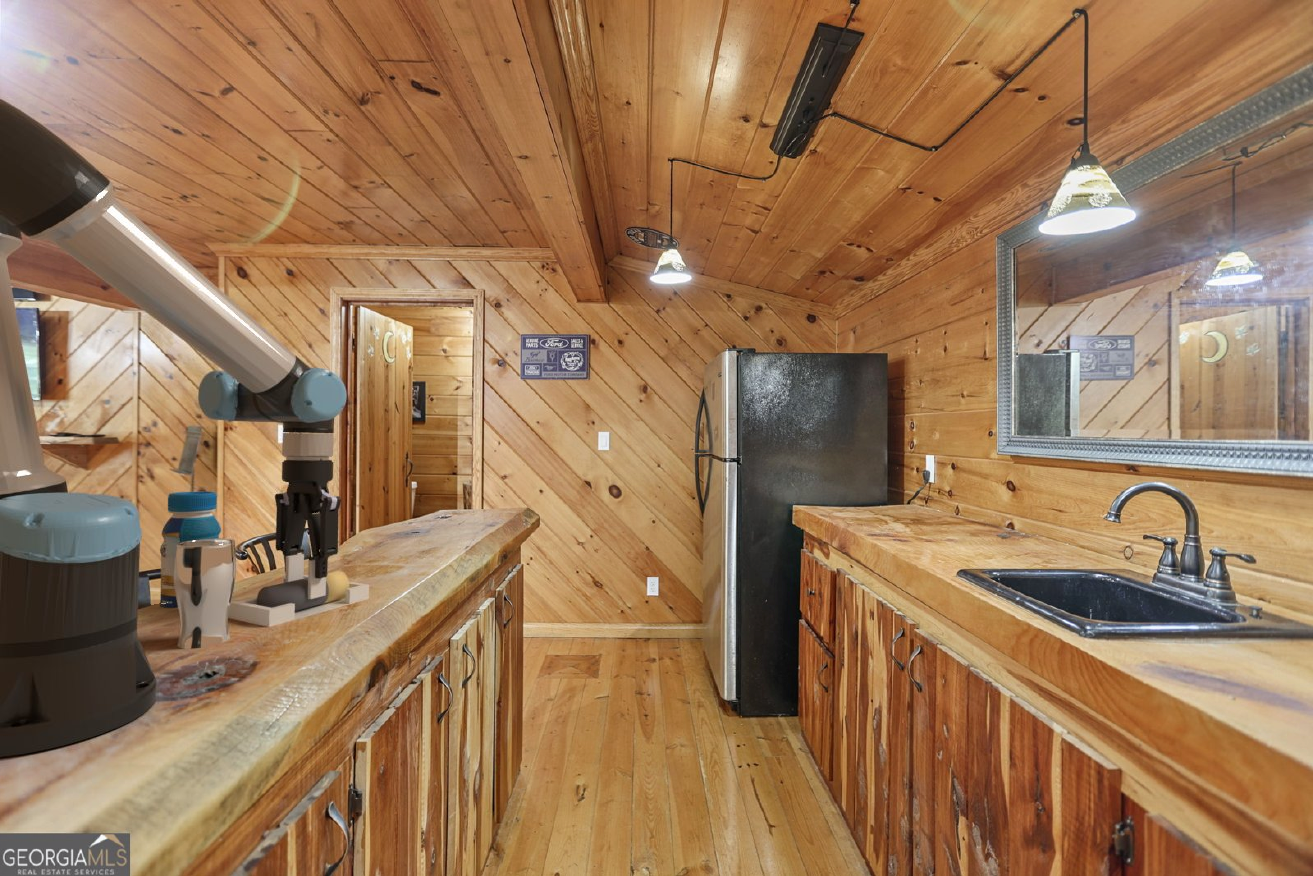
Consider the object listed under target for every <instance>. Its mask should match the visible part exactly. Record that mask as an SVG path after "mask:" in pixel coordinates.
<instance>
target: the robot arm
mask: <svg viewBox="0 0 1313 876" xmlns="http://www.w3.org/2000/svg"><path fill="white" fill-rule="evenodd" d="M22 234H24V235H25V236H26V237H27V238H29V239H30V240H36V241H37V240H38V241H47V242H51V243H53V244H54V245H56V246H57V247H58V248H60V249H61V250H62V251H63V252H64V253H66V254H68V256H70V257H72V258H73V259H74V260H75V261H77V262H78V263H80V264H81V266H82V265H83V267H85V268H86V269H88V270H89V271H90V272H92V273H93V274H94V275H96V276H97V277H98V278H99V279H101V280H102V281H104V283H107V284H108V286H110V287H111V288H112V289H114V290H115V291H117V292H118V293H119V294H121V295H122V296H123V297H125V298H126V299H127V300H129V301H130V302H132V303H133V304H134V305H136V306H137V307H138V308H139V309H141V310H142V311H143V312H145V313H147V314H148V315H149V316H150V317H152V318H153V319H154V320H156V321H157V322H159V324H161V325H163V326H164V327H165V328H167V330H169V331H170V332H172V333H173V334H174V335H176V336H177V337H178V338H180V339H181V340H183V342H185V343H186V344H188V345H189V346H191V347H192V348H193V349H194V350H196V351H197V352H198V353H200V354H201V355H202V356H204V357H205V358H206V359H208V360H209V361H211V363H213V364H214V365H216V366H217V367H218V368H219V369H221V370H219V369H218V370H212V371H209V372H208V373H206V374H205V375H204V376H203V378H202V379H201V381H200V383H199V386H198V391H197V392H198V396H197V397H198V405H199V408H200V410H201V412H202V413H203V415H205V417H207V418H209V419H211V420H214V421H226V422H228V423H231V422H232V423H233V422H245V423H246V422H247V423H248V422H252V423H281V424H282V446H281V455H282V456H283V457H284V458H286V459H284V460H283V461H282V462H281V480H282V481H283V482H285V483H288V484H287V489H286V491H285V492H283V493H282V492H281V493H280V492H279V493H276V494H274V501H275V505H276V520H275V521H276V523H275V550H276V551H279V552H282V555H283V556H284V572H285V573H284V574H285V577H284V579H285V582H290V581H295V580H299V579H303V576H304V573H305V572H304V568H305V563H304V562H305V553H304V552H305V550H304V549H303V548H302V546H303V541H304V540H303V539H304V535H305V531H306V524H307V530H308V536H309V544H310V550H311V556H310V557H307V558H308V561H307V562H308V565H307V570H308V571H307V575H308V599H313V598H317V597H321V596H325V595H326V577H327V573H328V565H329V564H328V563H329V562H328V561H329V557H331V556H334V555H338V553H339V510H340V507H341V503H342V498H341V496H339V495H338V496H333V495H332V494H330V490H329V488H328V483H329V482H331V481H332V480H333V479H334V461H333V460H332V459H330V457H333V455H334V434H335V432H334V431H335V418H336V417H337V416H339V415H340V414H341V412H342V411H343V409H344V408H345V406H346V403H347V395H348V394H347V389H346V386H345V384H344V382H343V380H342V379H341V377H340V376H339V375H337V373H334V372H333V371H331V370H329V369H326V368H320V367H310V366H309V365H308V364H306V363H305V362H304V361H303V360H302V359H301V358H299V357H298V356H297V355H296V354H295V353H294V352H292V351H291V350H290V349H289V348H288V347H286V346H285V345H284V344H283V342H281V341H280V340H278V339H277V338H276V337H275V336H274V335H273V334H271V333H270V332H269V330H267V329H266V328H265V327H263V326H262V324H260V323H259V322H258V321H257V320H256V319H255V318H253V317H252V316H251V315H250V314H248V313H247V312H246V311H245V310H244V309H243V308H242V307H241V306H239V305H238V304H237V303H236V302H235V301H234V300H232V299H231V298H230V297H229V296H228V295H227V294H226V293H224V291H222V290H221V289H220V288H219V287H218V286H216V285H215V284H214V283H213V281H211V280H209V278H207V276H205V275H204V274H203V273H202V272H200V271H199V270H198V269H197V268H196V267H195V266H193V265H192V263H190V261H187V260H186V259H185V258H184V257H183V256H182V255H181V254H180V253H179V252H177V251H176V250H175V248H173V247H172V246H170V244H168V243H167V242H166V241H164V239H162V238H161V237H160V236H159V235H158V234H157V233H155V232H154V230H152V229H151V228H149V226H148V225H146V224H145V223H144V222H143V221H142V220H141V219H139V218H138V216H136V215H135V214H134V213H132V212H131V210H129V209H128V208H127V207H126V206H124V204H123V203H121V202H120V201H119V200H118V199H117V198H116V197H115V192H114V184H113V182H112V181H111V180H109V179H108V178H107V177H106V175H104V174H103V173H102V172H101V171H99V169H97V168H96V167H95V166H94V165H92V163H91V162H89V160H87V159H86V158H85V157H84V156H82V154H80V153H79V152H78V151H76V149H74V148H73V147H71V146H70V145H69V144H68V143H66V141H64V140H63V139H62V138H60V137H59V136H58V135H57V134H55V133H54V132H53V131H51V130H50V129H49V128H47V127H46V126H45V125H43V124H41V122H39V121H38V120H36V119H34V118H33V117H31V116H30V115H28V114H27V113H25V112H24V111H22V110H21V109H19V108H17V107H16V106H14V105H12V104H11V103H9V102H7V101H6V100H4V99H2V98H0V757H1V758H2V757H10V756H19V755H25V754H31V753H36V752H40V751H45V750H51V749H54V748H59V747H62V746H66V745H70V744H74V743H76V742H80V741H84V740H86V739H90V738H93V737H96V736H99V735H102V734H104V733H107V732H110V731H112V730H114V729H117V728H119V727H122V726H123V725H126V724H128V723H130V722H132V721H134V720H136V719H137V718H140V717H141V716H143V715H144V714H146V713H147V712H148V711H149V710H151V709H152V707H153V706H154V705H155V704H156V702H157V685H158V684H157V679H156V675H155V673H154V671H153V669H152V666H151V663H150V661H149V660H148V657H147V655H146V652H145V650H144V647H143V646H142V645H143V644H142V643H141V641H140V638H139V636H138V611H139V609H138V607H139V584H140V583H139V582H140V581H139V580H140V579H139V578H140V559H141V557H140V556H141V555H140V553H141V540H142V537H143V536H142V534H143V532H142V531H143V529H142V527H141V525H140V523H141V522H140V512H139V509H138V508H137V506H136V505H135V504H134V503H133V502H131V501H130V500H128V499H125V498H123V497H119V496H114V495H110V494H109V495H107V494H100V493H99V494H98V493H97V494H93V493H92V494H91V493H86V492H69V489H68V485H67V481H66V480H67V479H66V477H65V476H63V475H61V474H59V473H57V472H56V471H53V470H52V469H49V468H48V467H47V466H46V464H45V459H44V456H43V455H44V454H43V449H42V444H41V439H40V438H41V437H40V435H39V433H40V432H39V427H38V422H37V418H36V412H35V406H34V401H33V394H32V390H31V386H30V385H31V384H30V379H29V374H28V373H29V372H28V369H27V364H26V358H25V354H24V353H25V352H24V346H23V343H22V342H23V341H22V337H21V333H20V332H21V331H20V327H19V325H20V324H19V321H18V315H17V309H16V304H15V298H14V293H13V288H12V282H11V279H10V278H11V277H10V273H9V272H10V271H9V267H8V262H7V259H8V258H9V256H10V255H12V254H13V253H14V252H15V251H17V250H18V249H20V248H21V247H22V246H23V245H24V243H23V237H22Z"/></svg>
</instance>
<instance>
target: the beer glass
mask: <svg viewBox="0 0 1313 876" xmlns="http://www.w3.org/2000/svg"><path fill="white" fill-rule="evenodd" d="M236 577H237V555H236V540H235V539H232V538H219V539H202V540H193V541H187V542H182V543H179V544H177V551H176V558H175V568H174V586H175V594H176V599H177V604H178V608H177V609H178V613H179V619H180V630H179V631H180V633H179V637H178V641H177V644H176V645H177V647H178V648H180V649H186V650H191V649H192V650H193V649H202V648H208V647H212V646H217V645H221V644H223V643H225V642H228V641H229V640H230V638H231V635H230V631H229V622H228V621H229V618H228V613H229V608H230V603H231V600H233V599H232V598H233V593H234V590H235V584H236Z"/></svg>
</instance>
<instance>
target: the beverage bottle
mask: <svg viewBox="0 0 1313 876" xmlns="http://www.w3.org/2000/svg"><path fill="white" fill-rule="evenodd" d="M217 502H218V495H217V492H215V491H209V490H208V491H205V490H204V491H203V490H201V491H198V490H197V491H179V492H178V491H177V492H171V493H169V494H168V497H167V511H168V513H169V514H172V515H171V517H170V518H169V519H168V520H167V521H166V523H165V525H163V528H162V530H161V537H162V538H163V542H162V543H161V545H160V548H159V551H160V552H159V553H160V599H159V600H160V602H159V607H161V608H167V609H176V608H177V609H178V604H177V599H176V594H175V586H174V568H175V558H176V551H177V544H179V543H182V542H187V541H193V540H202V539H220V537H219V536H220V534H221V532H222V528H221V523H219V520H218V519H217V517H216V516H215V515H214V514H213V513H212V512H214V511H216V510H217V507H218V506H217V505H218V503H217ZM167 602H168V603H167ZM161 603H166V604H161Z"/></svg>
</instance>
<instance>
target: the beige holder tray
mask: <svg viewBox="0 0 1313 876" xmlns="http://www.w3.org/2000/svg"><path fill="white" fill-rule="evenodd" d="M304 578H308V574H304V576H303V579H304ZM283 583H285V578H283ZM369 599H370V584H367V583H360V582H356V581H355V582H354V581H349V588H348V589H346V597H344V598H342V599H339V600H335V601H331V602H328V603H324V604H320V605H316V606H313V607H309V608H305V609H302V610H298V611H295V604H293V603H289V604H285V605H281V606H277V607H273V608H270V607H265V606H260V605H257V596H254V597H249V598H244V599H241V600H234V599H231V603H230V608H229V613H228V619H231V620H236V621H239V622H246V623H250V624H253V625H259V626H262V627H268V628H270V627H273V626H278V625H281V624H285V623H288V622H292V621H295V620H299V619H302V618H306V617H309V616H313V615H316V614H319V613H324V612H327V611H330V610H334V609H338V608H341V607H345V606H349V605H351V604H354V603H360V602H362V601H366V600H369Z"/></svg>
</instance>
